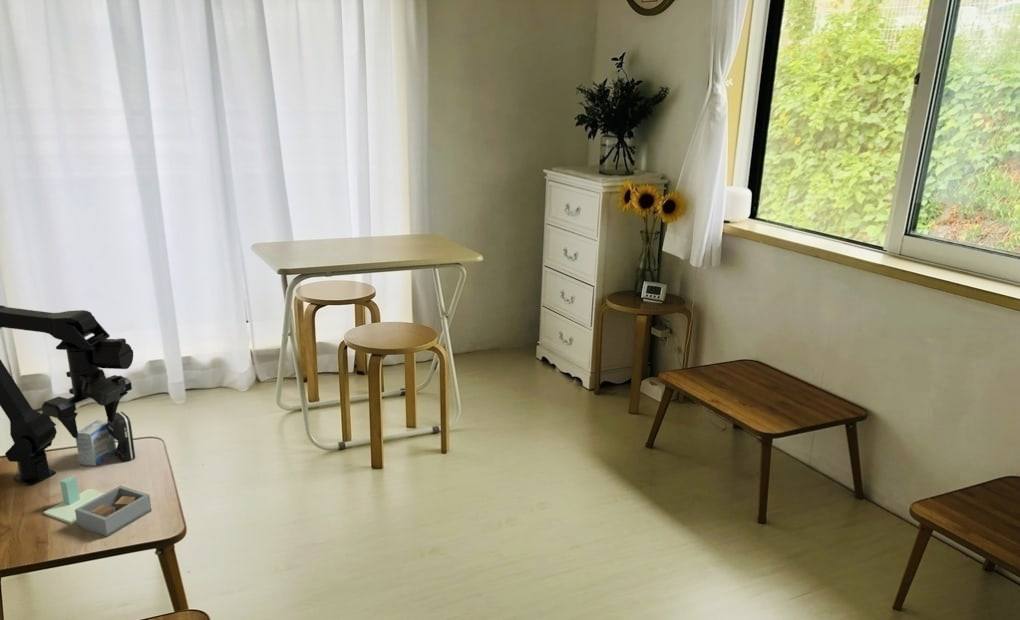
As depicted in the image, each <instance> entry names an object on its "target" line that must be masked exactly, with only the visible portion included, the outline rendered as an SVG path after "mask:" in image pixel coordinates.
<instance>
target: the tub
mask: <svg viewBox="0 0 1020 620" xmlns="http://www.w3.org/2000/svg"><path fill="white" fill-rule="evenodd" d="M104 493H105V492H104ZM122 496H127V497H136V500H135V501H133V502H132V503H130V504H128V505H126V506H125V507H123V508H121V509H119V510H118V511H116V510H115V503H116V502H117V501H118V500H119V499H120V498H121V497H122ZM101 505H106V506H109V507H112V508H113V512H114V513H112V514H110V515H109V516H107V517H103V516H101V515H98V514H95V513H92V512H90V511H92V510H94V509H95V508H97V507H99V506H101ZM152 510H153V509H152V504H151V497H150V494H149V493H145V492H143V491H138V490H136V489H133V488H129V487H127V486H123V485H118V486H116V487H115V488H113V489H111V490H109V491H107V492H106V493H105V494H103V495H101V496H100V497H98V498H96V499H94V500H92V501H90V502H88V503H86V504H85V505H83V506H81V507H79V508H77V509H75V513H76V519H77V522H76V523H77V524H76V525H77V527H79V528H81V529H85V530H87V531H90V532H93V533H95V534H98V535H101V536H103V537H106V536H107V537H106V538H108V537H110V536H111V535H113V534H115V533H116V532H119V531H120V530H122V529H123V528H125V527H127V526H128V525H130V524H132V523H134V522H136V521H137V520H138V519H140V518H142V517H144V516H145V515H148V514H149V513H150V512H152ZM109 535H110V536H109Z"/></svg>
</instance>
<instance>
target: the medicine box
mask: <svg viewBox="0 0 1020 620" xmlns="http://www.w3.org/2000/svg"><path fill="white" fill-rule="evenodd" d="M77 431H78V438H75V443H76V447H77V448H76V449H77V453H78V459H79V463H80V465H85V466H95V467H96V466H97V465H100V462H101V463H102V462H103V460H104V459H105V460H106V459H108V458H109V457H111V456H112V455H113V454H115V451H116V448H117V443H116V439H115V438H114V437H113V436H112V435H110V433H109V432H108V424H107V420H104V419H97V420H95V421H93V422H92V423H90V424H88V425H86V426H84V427H83V428H82V429H81V430H77ZM110 455H111V456H110ZM107 457H108V458H107ZM105 460H104V461H105Z"/></svg>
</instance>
